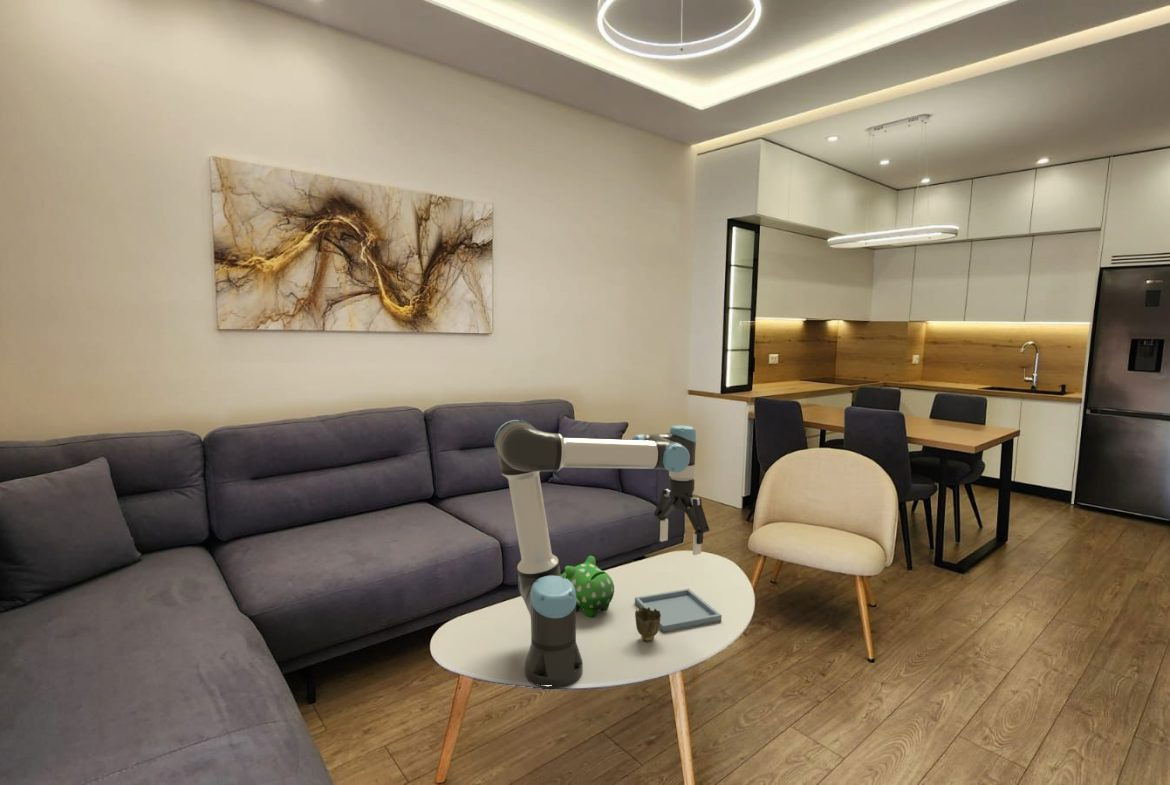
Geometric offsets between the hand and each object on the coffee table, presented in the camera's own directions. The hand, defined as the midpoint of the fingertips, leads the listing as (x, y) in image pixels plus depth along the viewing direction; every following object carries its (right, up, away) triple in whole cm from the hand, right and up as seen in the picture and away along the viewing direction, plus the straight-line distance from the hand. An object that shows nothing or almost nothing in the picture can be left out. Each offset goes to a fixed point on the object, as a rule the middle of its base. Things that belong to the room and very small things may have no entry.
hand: (679, 547), depth 173 cm
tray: (+1, -23, +10) cm, 25 cm away
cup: (-10, -25, -7) cm, 28 cm away
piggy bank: (-28, -23, +12) cm, 38 cm away
